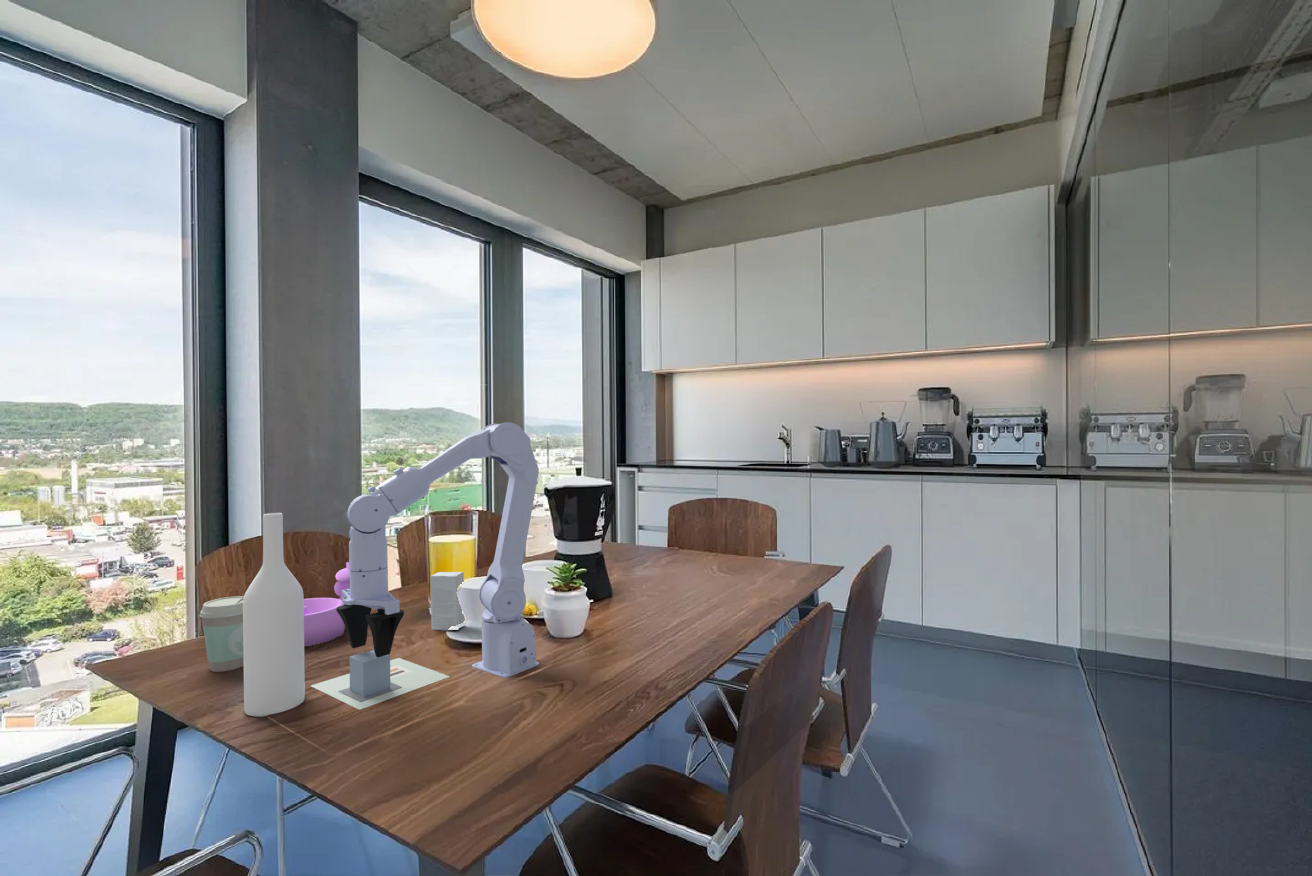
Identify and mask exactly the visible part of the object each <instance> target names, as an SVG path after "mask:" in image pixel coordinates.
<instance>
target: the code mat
mask: <svg viewBox="0 0 1312 876" xmlns="http://www.w3.org/2000/svg"><path fill="white" fill-rule="evenodd" d="M447 678H451V676H449V675H448V674H444V673H442V672H438V671H436V670H434V669H431V668H428V667H425V666H423V665H420V664H417V663H414V662H411V661H410V660H406V659H403V658H400V657H397V658H394V659H390V688H389V689H386V690H383V691H380V692H377V693H374V694H371V695H368V696H365V697H362V696H360V695H358V694H356V693H354V692H352V691H350V672H349V673H346V674H343V675H339V676H337V677H336V676H335V677H334V678H331V679H327V680H325V681H321V682H317V683H315V684H312V685H310V687H312V688H313V689H316V690H317V691H320V692H322V693H323V694H325V695H328V696H330V697H332V698H334V699H337V700H338V701H340V702H343V703H345V704H346V705H348V706H351V707H353V708H355V709H357V710H363V709H366V708H369V707H371V706H374V705H377V704H380V703H382V702H385V701H387V700H390V699H393V698H396V697H399V696H401V695H404V694H407V693H409V692H412V691H414V690H417V689H421V688H422V687H426V686H428V685H431V684H434V683H436V682H441V680H445V679H447Z"/></svg>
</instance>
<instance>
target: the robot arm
mask: <svg viewBox="0 0 1312 876" xmlns="http://www.w3.org/2000/svg"><path fill="white" fill-rule="evenodd" d="M479 458H491V459H492V460H493V461H495V462H496V463H498V464H499V465H500V467H501V468H502V469H503V471H504V472H505V473H506V475H507V476H508V481H507V482H508V483H507V487H506V488H507V489H506V493H505V498H504V505H503V509H502V515H501V520H500V525H499V531H498V536H497V542H496V548H495V553H494V558H493V562H492V563H491V564H490V566H489V568H488V570H487V576H486V578H485V579H484V581H483V582H482V583H481V585H480V587H479V591H478V598H479V601H480V603H481V605H483V606H484V611H482V615H481V654H482V655H481V656H482V657H481V658H482V660H481V661H478V662H475V663H473V664H472V665H471V668H474V669H477V670H479V671H482V672H483V671H484V672H485V673H489V674H492V675H494V676H497V677H501V678H503V679H506V678H509V677H511V676H514V675H517V674H519V673H522V672H524V671H528V670H529V669H532V668H534V667H538V666H540V662H539V661H536V660H537V659H536V655H537V654H536V652H537V651H536V630H535V628H534V626H533V625H532V624H531V623H529V622H528V621H526V619H525V618H524V616H523V614H524V612H523V611H524V610H525V608H526V603H527V597H526V593H525V587H524V586H525V581H526V580H525V575H524V574H525V573H524V570H523V563H524V562H523V561H524V557H525V556H524V555H525V550H526V545H527V539H528V534H529V529H530V522H531V518H532V517H531V516H532V512H533V506H534V500H535V496H536V490H537V485H538V478H539V472H540V470H539V466H538V464H537V463H538V462H537V460H536V457H535V455H534V452H533V449H532V446H531V438H530V437H529V435H528V434H527V433H526V432H525V431H524V429H522V428H521V426H519V425H518V424H516V423H513V422H502V423H490V424H488V425H486V426H484V427H483V428H482V429H479V430H477V431H474V432H472V433H470V434H468V435H466V436H465V437H463V438H462V439H460V440H459V441H457V442H456V443H454V444H452V445H451V446H450V447H448V448H447V449H446V450H444V451H443V452H441V453H439V454H438V455H437V456H435V457H434V458H433V459H431V460H430V461H428V462H427V463H425V464H424V465H422V466H421V467H419V468H417V467H413V466H407V467H405V468H404V469H403V468H402V467H398V468H397V469H395V470H394V471H392V472H393V474H394V475H393V476H391V477H389V478H388V479H386V480H385V481H383V482H381V483H380V484H378V485H377V486H374V485H371V486H370V487H368V488H367V490H368V492H369V494H362V495H359V496H357V497H355V498H353V500H352V501H351V502H350V504H349V506H348V509H347V512H346V517H347V520H348V522H349V523H350V524H351V526H350V530H349V531H348V532H349V538H350V540H349V542H348V554H349V555H348V558H349V559H348V562H349V569H350V589H346V590H342V602H343V604H344V605H343V606H339V607H337V608H336V611H337V612H338V614H339V615H340V617H341V619H342V620H343V622H344V628H345V630H346V633H347V637H348V640H349V641H348V642H349V644H350V647H351V648H352V649H357V648H360V647H364V646H366V643H367V639H368V630H370V631H371V632H370V633H371V635H372V637H371V638H372V643H373V644H372V645H373V650H374V652H375V655H376V657H382V656H385V655H389V654H391V650H392V647H393V643H394V640H395V639H394V638H395V635H396V632H397V629H398V627H399V624H400V622H401V621H402V620H403V619H402V618H403V617H404V616H405V611H404V610H405V609H404V610H403V609H400V599H397V598H395V597H394V595H392V593H391V592H390V591H389V572H388V571H389V565H388V563H389V562H388V561H389V560H388V558H389V557H388V539H387V537H386V534H387V532H386V527H387V526H386V525H388V522H389V520H390V517H391V516H397V515H398V514H400V513H401V512H403V511H405V510H407V508H409V507H411V506H412V505H414V504H415V503H417V502H418V501H419V500H421V499H423V498H424V497H426V496H427V495H428V494H429V492H430V491H429V490H430V486H431V484H432V483H433V482H435V481H436V480H437V481H438V479H440V478H442V477H443V476H445V475H446V474H448V473H449V472H451V471H453V470H454V469H457V468H458V467H460V466H461V465H463V464H465V463H466V462H468V461H470V460H471V459H479ZM372 609H374V610H377V611H376V612H372Z"/></svg>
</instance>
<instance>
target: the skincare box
mask: <svg viewBox="0 0 1312 876" xmlns="http://www.w3.org/2000/svg"><path fill="white" fill-rule="evenodd" d="M464 574H465V573H464V571H439V572H438V571H437V572H436V573H434V574H432V575H430V578H429V580H430V581H429V582H430V616H431V617H430V621H431V623H430V625H431V626H430V627H431V630H432V631H435V630H436V631H444V632H448V631H447V630H448V629H449V628H450V627H451V626H456V625H458V624H461V623H463V622H464V621H465V620H466V619H464V616H463V614H462V609H461V606H460V604H459V601H458V597H457V594H456V592H457V588H458V586H459V585H460V584H462V582H464V583H465V580H464V579H465V578H464V577H465V575H464ZM465 622H466V621H465Z"/></svg>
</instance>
